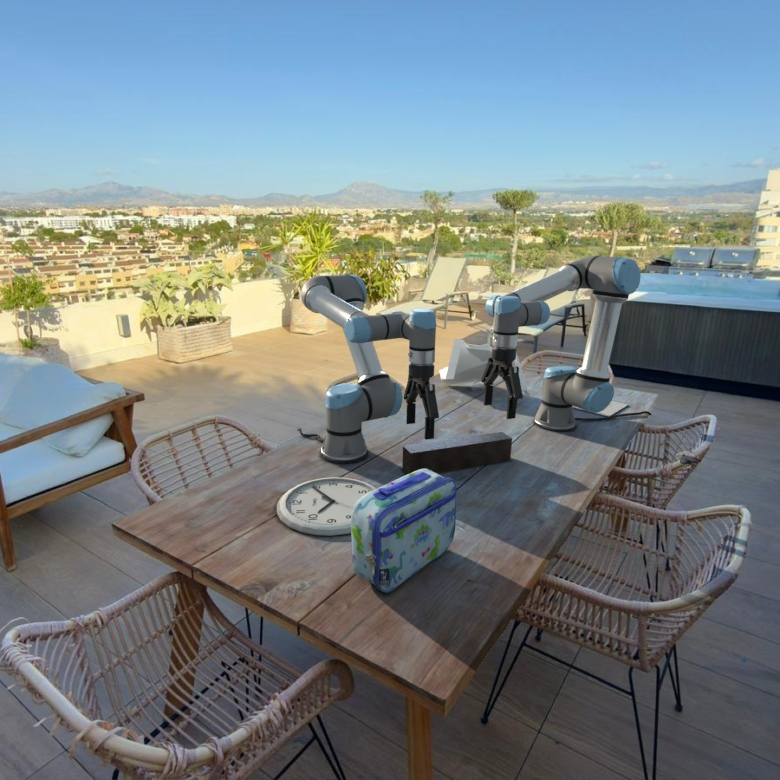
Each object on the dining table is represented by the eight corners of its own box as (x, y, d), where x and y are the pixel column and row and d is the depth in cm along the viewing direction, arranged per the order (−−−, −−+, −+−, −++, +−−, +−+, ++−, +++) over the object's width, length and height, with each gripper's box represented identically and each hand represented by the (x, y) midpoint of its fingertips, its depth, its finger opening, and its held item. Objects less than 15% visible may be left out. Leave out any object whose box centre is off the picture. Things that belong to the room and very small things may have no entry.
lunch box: (379, 605, 105) (380, 513, 99) (344, 580, 112) (343, 493, 106) (459, 552, 123) (464, 471, 116) (425, 533, 130) (428, 456, 124)
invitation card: (608, 416, 214) (573, 407, 224) (608, 416, 214) (573, 408, 224) (628, 404, 229) (594, 396, 238) (628, 405, 229) (594, 397, 238)
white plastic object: (461, 429, 252) (437, 405, 227) (444, 352, 274) (420, 323, 250) (535, 404, 240) (518, 377, 215) (510, 326, 262) (492, 293, 237)
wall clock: (392, 527, 129) (268, 531, 127) (391, 533, 130) (269, 537, 127) (383, 473, 158) (282, 475, 155) (383, 478, 158) (282, 480, 156)
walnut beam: (500, 453, 177) (502, 431, 175) (510, 460, 172) (512, 438, 170) (402, 469, 165) (402, 445, 163) (409, 477, 160) (410, 453, 157)
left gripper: (394, 354, 163) (393, 418, 169) (428, 374, 141) (425, 447, 147) (416, 353, 166) (414, 416, 172) (452, 372, 143) (449, 444, 149)
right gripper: (473, 339, 172) (469, 400, 178) (517, 356, 150) (510, 426, 156) (493, 338, 174) (488, 398, 181) (539, 355, 152) (531, 423, 159)
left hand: (419, 430), depth 159 cm, fingers open, 13 cm apart
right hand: (498, 411), depth 168 cm, fingers open, 13 cm apart
